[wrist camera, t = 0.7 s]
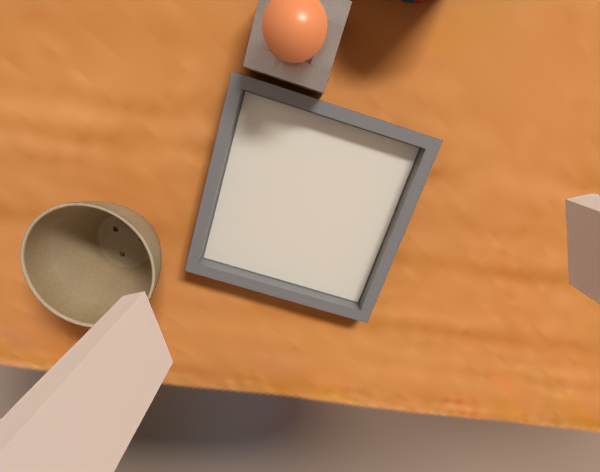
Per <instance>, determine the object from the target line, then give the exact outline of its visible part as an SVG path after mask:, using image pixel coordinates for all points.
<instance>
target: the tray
mask: <svg viewBox="0 0 600 472" xmlns="http://www.w3.org/2000/svg"><path fill="white" fill-rule="evenodd" d="M442 141H443V140H440V139H437V138H434V137H431V136H428V135H425V134H422V133H419V132H416V131H413V130H410V129H407V128H404V127H401V126H398V125H395V124H392V123H389V122H386V121H382V120H379V119H376V118H373V117H370V116H367V115H364V114H361V113H358V112H355V111H352V110H349V109H346V108H343V107H340V106H337V105H334V104H331V103H328V102H325V101H322V100H319V99H315V98H312V97H309V96H306V95H303V94H300V93H297V92H294V91H291V90H288V89H285V88H282V87H279V86H276V85H273V84H270V83H267V82H264V81H261V80H258V79H255V78H252V77H248V76H245V75H242V74H239V73H236V72H233V71H232V73H231V77H230V82H229V86H228V90H227V94H226V99H225V103H224V107H223V111H222V115H221V120H220V124H219V128H218V132H217V137H216V141H215V145H214V149H213V154H212V158H211V162H210V166H209V171H208V175H207V179H206V183H205V187H204V192H203V196H202V200H201V204H200V209H199V213H198V217H197V221H196V226H195V230H194V234H193V238H192V242H191V247H190V251H189V255H188V259H187V264H186V268H185V271H187V272H190V273H194V274H197V275H201V276H204V277H208V278H211V279H215V280H218V281H222V282H225V283H229V284H232V285H236V286H239V287H243V288H246V289H250V290H253V291H257V292H260V293H264V294H267V295H271V296H274V297H278V298H281V299H285V300H288V301H292V302H295V303H299V304H302V305H306V306H309V307H312V308H316V309H319V310H323V311H326V312H330V313H333V314H337V315H340V316H344V317H347V318H351V319H354V320H358V321H361V322H365V323H368V320H369V318H370V315H371V313H372V311H373V308H374V306H375V303H376V301H377V298H378V296H379V294H380V291H381V289H382V286H383V284H384V282H385V279H386V277H387V274H388V272H389V269H390V267H391V265H392V262H393V260H394V257H395V255H396V253H397V250H398V248H399V245H400V243H401V240H402V238H403V236H404V233H405V231H406V228H407V226H408V224H409V221H410V219H411V216H412V214H413V211H414V209H415V207H416V204H417V202H418V199H419V197H420V195H421V192H422V190H423V187H424V185H425V182H426V180H427V178H428V175H429V173H430V170H431V168H432V166H433V163H434V161H435V158H436V156H437V153H438V151H439V149H440V146H441V144H442Z"/></svg>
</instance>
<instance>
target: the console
mask: <svg viewBox="0 0 600 472" xmlns="http://www.w3.org/2000/svg"><path fill="white" fill-rule="evenodd" d="M319 1H320V3H321V4H322V6H323V8H324V10H325V13H326V16H327V34H326V38H325V41H324V43H323V45H322V47H321V49H320V50H319V51H318V53H317V54H316V55H314V56H313V57H312V58H310V59H309V60H307V61H304V62H300V63H290V62H286V61H284V60H282V59H280V58H278V57H277V56H276V55H275V54H274V53H273V52H272V51H271V50H270V49H269V47H268V45H267V44H266V42H265V39H264V36H263V32H262V18H263V14H264V11H265V8H266V6H267V5H268V3H269V2H270V0H259V1H258V5H257V9H256V13H255V17H254V21H253V25H252V30H251V34H250V38H249V42H248V46H247V50H246V54H245V58H244V62H243V67H245V68H247V69H248V70H250V71H253V72H256V73H259V74H262V75H265V76H268V77H271V78H274V79H277V80H280V81H283V82H286V83H289V84H292V85H295V86H298V87H301V88H304V89H307V90H310V91H313V92H316V93H319V94H323V93H324V91H325V88H326V85H327V82H328V78H329V75H330V72H331V69H332V65H333V62H334V59H335V56H336V53H337V49H338V46H339V43H340V40H341V36H342V33H343V30H344V27H345V23H346V20H347V17H348V14H349V11H350V7H351V4H352V1H350V0H319Z"/></svg>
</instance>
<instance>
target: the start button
mask: <svg viewBox="0 0 600 472" xmlns="http://www.w3.org/2000/svg"><path fill="white" fill-rule="evenodd" d="M262 32H263V36H264V39H265V42H266V44H267V45H268V47H269V49H270V50H271V51H272V52H273V53H274V54H275V55H276V56H277V57H278V58H280V59H282V60H284V61H286V62H290V63H300V62H304V61H307V60H309V59H310V58H312V57H313V56H314V55H316V54H317V53H318V51H319V50H320V49H321V47H322V45H323V43H324V41H325V38H326V34H327V16H326V13H325V10H324V8H323V6H322V4H321V3H320V1H319V0H270V2H269V3H268V5H267V6H266V8H265V11H264V14H263V18H262Z"/></svg>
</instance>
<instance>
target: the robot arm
mask: <svg viewBox="0 0 600 472" xmlns="http://www.w3.org/2000/svg"><path fill="white" fill-rule="evenodd" d="M566 220H567V245H568V269H569V284H571V285H572V286H573V287H575V288H576V289H578V290H579V291H581V292H582V293H584V294H585V295H587V296H588V297H589V298H591V299H592V300H594V301H595V302H597V303H598V304H600V195H597V194H594V193H592V194H587V195H582V196H578V197H573V198H569V199H566ZM172 363H173V361H172V358H171V356H170V353H169V351H168V348H167V345H166V343H165V340H164V338H163V335H162V333H161V330H160V328H159V325H158V323H157V320H156V318H155V315H154V313H153V310H152V308H151V305H150V303H149V300H148V298H147V295H146V293H145V291H143V292H138V293H134V294H129V295H125V296H122V297H121V298H120V299H119V300H118V301H117V302H116V303H115V304H114V305H113V306H112V307H111V308H110V309H109V310H108V311H107V312H106V313H105V314H104V315H103V316H102V317H101V318H100V319H99V320H98V321H97V322H96V323H95V324H94V325H93V327H92V328H91V329H90V330H89V331H88V332H87V333H86V334H85V335H84V336H83V337H82V338H81V339H80V340H79V341H78V342H77V343H76V344H75V345H74V346H73V347H72V348H71V349H70V350H69V351H68V352H67V353H66V354H65V355H64V356H63V357H62V358H61V359H60V360H59V361H58V362H57V363H56V364H55V365H54V366H53V367H52V368H51V369H50V370H49V371H48V372H47V373H46V374H45V375H44V376H43V377H42V378H41V379H40V380H39V381H38V382H37V383H36V384H35V385H34V386H33V387H32V388H31V389H30V390H29V391H28V392H27V393H26V394H25V395H24V396H23V397H22V398H21V399H20V400H19V401H18V402H17V403H16V405H14V406H13V407H12V408H11V409H10V410H9V411H8V412H7V413H6V414H5V415H4V416H3V417H2V418H1V419H0V472H114V471H115V469H116V467H117V465H118V463H119V461H120V460H121V458H122V456H123V454H124V452H125V450H126V448H127V447H128V445H129V443H130V441H131V439H132V437H133V435H134V434H135V432H136V430H137V428H138V426H139V424H140V422H141V421H142V419H143V417H144V415H145V413H146V411H147V409H148V408H149V406H150V404H151V402H152V400H153V398H154V396H155V395H156V393H157V390H158V389H159V387H160V385H161V383H162V382H163V380H164V378H165V376H166V374H167V372H168V370H169V369H170V367H171V365H172Z"/></svg>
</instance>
